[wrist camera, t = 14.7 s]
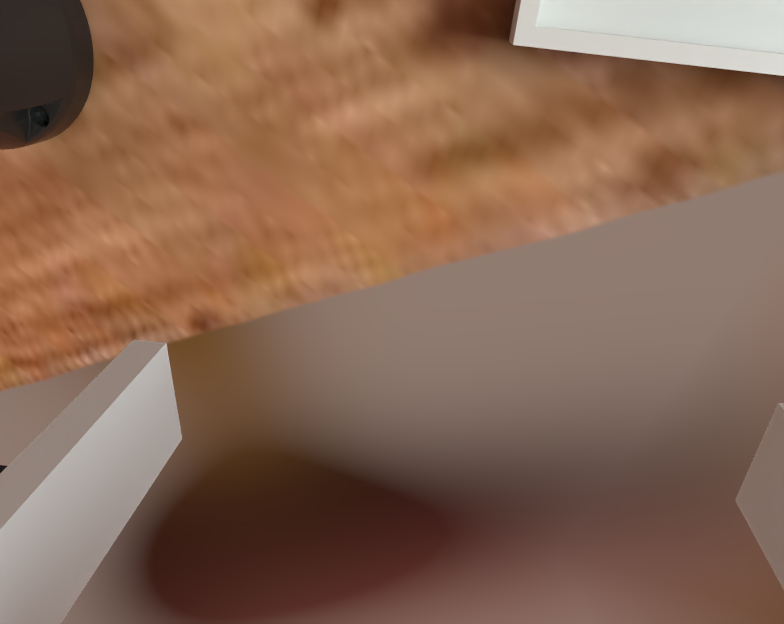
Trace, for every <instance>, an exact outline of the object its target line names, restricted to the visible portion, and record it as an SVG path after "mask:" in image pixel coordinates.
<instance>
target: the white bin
mask: <svg viewBox="0 0 784 624" xmlns="http://www.w3.org/2000/svg"><path fill="white" fill-rule="evenodd" d="M509 42H510V43H511V44H513V45H518V46H527V47H536V48H544V49H553V50H562V51H571V52H579V53H588V54H597V55H606V56H615V57H623V58H632V59H641V60H650V61H658V62H667V63H676V64H685V65H694V66H702V67H711V68H720V69H729V70H737V71H746V72H755V73H764V74H773V75H781V76H784V0H516V2H515V7H514V13H513V19H512V25H511V30H510V36H509Z"/></svg>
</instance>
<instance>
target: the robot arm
mask: <svg viewBox="0 0 784 624" xmlns="http://www.w3.org/2000/svg"><path fill="white" fill-rule="evenodd" d="M92 76H93V47H92V40H91V34H90V29H89V25H88V22H87V18H86V15H85V12H84V9H83V6H82V4H81V1H80V0H0V149H14V148H20V147H25V146H28V145H32V144H35V143H39V142H42V141H45V140H48V139H50V138H53V137H55V136H57V135H58V134H60V133H61V132H63V131H64V130H65V129H67V128H68V127H69V126H70V125H71V124H72V123H73V122H74V120H75V119H76V118H77V117H78V115H79V114H80V112H81V110H82V109H83V107H84V105H85V102H86V100H87V97H88V94H89V91H90V87H91V82H92ZM181 439H182V435H181V429H180V423H179V417H178V411H177V405H176V399H175V393H174V387H173V381H172V375H171V369H170V363H169V357H168V351H167V345H166V343H162V342H152V341H141V340H133V341H132V342H131V343H130V344H129V345H128V346H127V347H126V348H125V349H124V350H123V351H122V352H121V353H120V354H119V355H118V356H117V357H116V358H115V359H114V360H113V361H112V362H111V363H110V364H109V365H108V366H107V367H106V368H105V369H104V370H103V371H102V372H101V373H100V374H99V375H98V376H97V377H96V378H95V379H94V380H93V381H92V382H91V383H90V384H89V385H88V386H87V387H86V388H85V389H84V390H83V391H82V392H81V393H80V394H79V395H78V396H77V397H76V398H75V399H74V400H73V401H72V402H71V403H70V404H69V405H68V406H67V407H66V408H65V409H64V410H63V411H62V412H61V413H60V414H59V415H58V416H57V417H56V418H55V419H54V420H53V421H52V422H51V423H50V424H49V425H48V426H47V427H46V428H45V429H44V430H43V431H42V432H41V433H40V434H39V435H38V436H37V437H36V438H35V439H34V440H33V441H32V442H31V443H30V444H29V445H28V446H27V447H26V448H25V449H24V450H23V451H22V452H21V453H20V454H19V455H18V456H17V457H16V459H14V460H13V461H12V462H11V463H10V464H9V465H8V466H2V465H0V624H60V623H61V622H62V620H63V619H64V617H65V616H66V614H67V613H68V611H69V610H70V608H71V607H72V605H73V604H74V602H75V601H76V599H77V598H78V596H79V595H80V593H81V592H82V590H83V588H84V587H85V585H86V584H87V582H88V581H89V579H90V578H91V576H92V574H93V573H94V572H95V570H96V569H97V567H98V566H99V564H100V563H101V561H102V559H103V558H104V557H105V555H106V554H107V552H108V550H109V549H110V547H111V546H112V544H113V543H114V541H115V540H116V538H117V537H118V535H119V533H120V532H121V531H122V529H123V528H124V526H125V525H126V523H127V521H128V520H129V519H130V517H131V515H132V514H133V512H134V511H135V509H136V508H137V506H138V505H139V503H140V502H141V500H142V499H143V497H144V496H145V494H146V493H147V491H148V489H149V488H150V487H151V485H152V483H153V482H154V480H155V479H156V477H157V476H158V474H159V473H160V471H161V470H162V468H163V466H164V465H165V464H166V462H167V461H168V459H169V458H170V456H171V454H172V453H173V452H174V450H175V448H176V447H177V445H178V444H179V442H180V441H181ZM736 502H737V504H738V506H739V508H740V510H741V512H742V514H743V516H744V517H745V519H746V521H747V523H748V525H749V527H750V529H751V530H752V532H753V534H754V536H755V538H756V539H757V541H758V543H759V545H760V547H761V549H762V551H763V553H764V554H765V556H766V558H767V560H768V562H769V563H770V565H771V567H772V569H773V571H774V573H775V575H776V577H777V578H778V580H779V582H780V584H781V586H782V588H783V590H784V404H782V403H778V405H777V407H776V409H775V411H774V414H773V416H772V418H771V420H770V423H769V425H768V428H767V430H766V432H765V434H764V436H763V439H762V441H761V443H760V445H759V448H758V450H757V452H756V454H755V457H754V459H753V461H752V464H751V466H750V468H749V470H748V473H747V475H746V477H745V479H744V482H743V484H742V486H741V488H740V491H739V493H738V495H737V497H736Z"/></svg>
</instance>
